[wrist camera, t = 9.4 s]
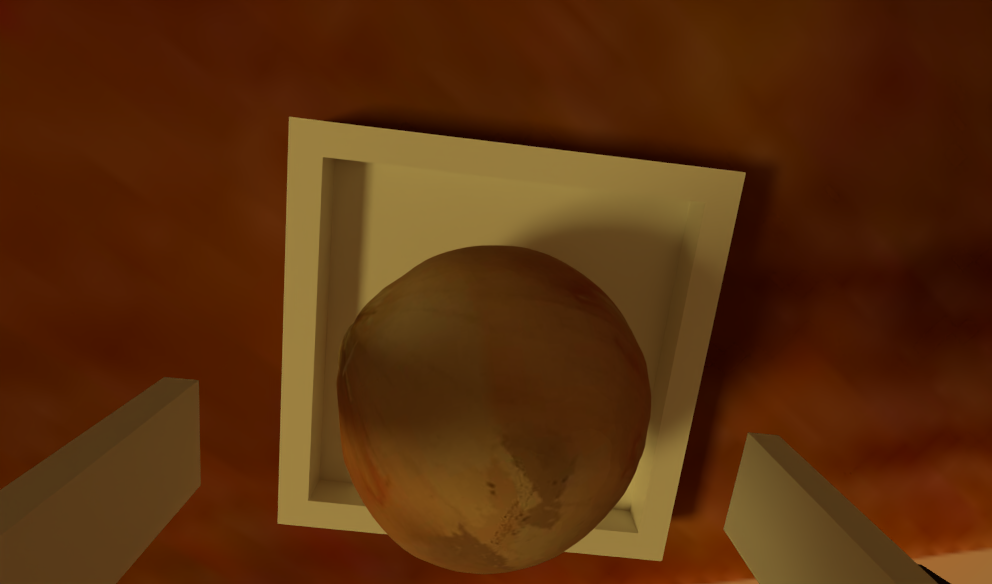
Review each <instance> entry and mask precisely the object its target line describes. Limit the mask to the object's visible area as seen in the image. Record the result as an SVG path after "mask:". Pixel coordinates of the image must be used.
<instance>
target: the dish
mask: <svg viewBox="0 0 992 584" xmlns="http://www.w3.org/2000/svg"><path fill="white" fill-rule="evenodd" d="M745 175H746V172H738V171H730V170H722V169H714V168H705V167H697V166H689V165H681V164H673V163H664V162H656V161H648V160H640V159H631V158H623V157H615V156H607V155H598V154H590V153H582V152H574V151H566V150H557V149H549V148H541V147H533V146H524V145H516V144H508V143H500V142H491V141H483V140H475V139H467V138H459V137H450V136H442V135H434V134H426V133H417V132H409V131H401V130H393V129H385V128H376V127H368V126H360V125H352V124H343V123H335V122H327V121H319V120H310V119H302V118H294V117H289V139H288V174H287V210H286V245H285V281H284V316H283V352H282V387H281V423H280V458H279V494H278V524H287V525H298V526H308V527H318V528H328V529H338V530H349V531H359V532H369V533H379V534H387V533H386V532H385V531H384V530H383V529H382V528H381V527H380V525H379V524H378V523H377V522H376V520H375V519H374V518H373V517H372V515H371V514H370V512H369V511H368V509H367V508H366V506H365V505H364V503H363V501H362V499H361V498H360V496H359V494H358V492H357V490H356V488H355V486H354V485H353V483H352V480H351V477H350V475H349V472H348V470H347V467H346V465H345V462H344V458H343V453H342V446H341V438H340V426H339V411H338V399H337V387H336V382H337V375H338V370H339V366H338V355H339V348H340V345H341V342H342V339H343V337H344V335H345V333H346V331H347V329H348V327H349V326H350V325H351V324H353V323H354V321H355V319H356V317H357V316H358V314H359V313H360V311H361V310H362V309H363V308H364V306H365V305H366V304H367V303H368V302H369V301H370V300H371V299H372V298H374V297H375V296H376V295H377V294H378V293H379V292H380V291H381V290H382V289H384V288H385V287H386V286H388V285H390V284H391V283H393V282H394V281H396V280H397V279H399V278H400V277H402V276H403V275H404V274H406V273H407V272H409V271H410V270H411V269H413V268H414V267H415V266H417V265H419V264H420V263H422V262H423V261H425V260H427V259H429V258H431V257H434V256H436V255H439V254H442V253H445V252H448V251H452V250H456V249H460V248H465V247H471V246H481V245H503V246H517V247H524V248H529V249H532V250H536V251H539V252H542V253H545V254H548V255H550V256H552V257H555V258H557V259H559V260H561V261H562V262H564V263H566V264H568V265H569V266H571V267H573V268H574V269H576V270H577V271H579V272H580V273H582V274H583V275H585V276H586V277H587V278H588V279H590V280H591V281H592V282H594V283H595V284H596V285H597V286H598V287H599V288H601V289H602V290H603V291H604V292H605V293H606V294H607V295H608V297H609V298H610V299H611V300H612V301H613V302H614V304H615V305H616V306H617V308H618V309H619V310H620V312H621V313H622V315H623V316H624V318H625V320H626V321H627V323H628V325H629V327H630V329H631V330H632V332H633V334H634V337H635V339H636V341H637V343H638V345H639V347H640V349H641V350H642V352H643V355H644V358H645V361H646V364H647V371H648V378H649V383H650V389H651V416H650V421H649V426H648V431H647V437H646V443H645V448H644V451H643V455H642V457H641V459H640V461H639V464H638V467H637V470H636V473H635V475H634V477H633V479H632V481H631V483H630V484H629V486H628V488H627V490H626V492H625V494H624V495H623V496H622V498H621V499H620V500H619V502H618V503H617V504H616V505H615V506H614V508H613V509H612V510H611V511H610V512H609V513H608V515H607V516H606V517H605V518H604V519H603V520H602V521H601V522H600V523H599V524H598V525H597V526H596V527H595V528H594V529H593V530H592V531H591V532H590V533H589V534H587V535H586V536H585V537H584V538H583V539H581V540H580V541H579V542H577V543H576V544H575V545H573V546H572V547H570V548H569V549H567V550H566V551H564V552H574V553H584V554H594V555H604V556H615V557H625V558H635V559H645V560H656V561H662V557H663V553H664V548H665V544H666V539H667V534H668V530H669V525H670V521H671V516H672V511H673V507H674V502H675V497H676V493H677V488H678V484H679V479H680V474H681V470H682V465H683V461H684V456H685V451H686V447H687V442H688V438H689V433H690V428H691V424H692V419H693V414H694V410H695V405H696V401H697V396H698V391H699V387H700V382H701V378H702V373H703V368H704V364H705V359H706V355H707V350H708V345H709V341H710V336H711V331H712V327H713V322H714V318H715V313H716V308H717V304H718V299H719V295H720V290H721V285H722V281H723V276H724V272H725V267H726V262H727V258H728V253H729V248H730V244H731V239H732V235H733V230H734V225H735V221H736V216H737V212H738V207H739V202H740V198H741V193H742V189H743V184H744V179H745Z"/></svg>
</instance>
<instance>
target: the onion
mask: <svg viewBox="0 0 992 584" xmlns="http://www.w3.org/2000/svg"><path fill="white" fill-rule="evenodd" d="M338 366H339V370H338V375H337V382H336V387H337V399H338V411H339V426H340V438H341V446H342V453H343V458H344V462H345V465H346V467H347V470H348V472H349V475H350V477H351V480H352V483H353V485H354V486H355V488H356V490H357V492H358V494H359V496H360V498H361V499H362V501H363V503H364V505H365V506H366V508H367V509H368V511H369V512H370V514H371V515H372V517H373V518H374V519H375V520H376V522H377V523H378V524H379V525H380V527H381V528H382V529H383V530H384V531H385V532H386V533H387V534H388V535H389V536H390V537H391V538H392V539H393V540H394V541H395V542H396V543H397V544H399V545H400V546H401V547H402V548H403V549H404V550H406V551H407V552H409V553H410V554H412V555H414V556H415V557H417V558H419V559H422V560H424V561H427V562H429V563H432V564H434V565H437V566H439V567H443V568H446V569H450V570H453V571H458V572H465V573H475V574H493V573H504V572H511V571H515V570H519V569H524V568H527V567H531V566H535V565H537V564H540V563H542V562H545V561H547V560H549V559H552V558H554V557H556V556H558V555H560V554H561V553H563V552H564V551H566V550H567V549H569V548H570V547H572V546H573V545H575V544H576V543H577V542H579V541H580V540H581V539H583V538H584V537H585V536H586V535H587V534H589V533H590V532H591V531H592V530H593V529H594V528H595V527H596V526H597V525H598V524H599V523H600V522H601V521H602V520H603V519H604V518H605V517H606V516H607V515H608V513H609V512H610V511H611V510H612V509H613V508H614V506H615V505H616V504H617V503H618V502H619V500H620V499H621V498H622V496H623V495H624V494H625V492H626V490H627V488H628V486H629V484H630V483H631V481H632V479H633V477H634V475H635V473H636V470H637V467H638V464H639V461H640V459H641V457H642V455H643V451H644V448H645V443H646V437H647V431H648V426H649V421H650V416H651V389H650V383H649V378H648V371H647V364H646V361H645V358H644V355H643V352H642V350H641V349H640V347H639V345H638V343H637V341H636V339H635V337H634V334H633V332H632V330H631V329H630V327H629V325H628V323H627V321H626V320H625V318H624V316H623V315H622V313H621V312H620V310H619V309H618V308H617V306H616V305H615V304H614V302H613V301H612V300H611V299H610V298H609V297H608V295H607V294H606V293H605V292H604V291H603V290H602V289H601V288H599V287H598V286H597V285H596V284H595V283H594V282H592V281H591V280H590V279H588V278H587V277H586V276H585V275H583V274H582V273H580V272H579V271H577V270H576V269H574V268H573V267H571V266H569V265H568V264H566V263H564V262H562V261H561V260H559V259H557V258H555V257H552V256H550V255H548V254H545V253H542V252H539V251H536V250H532V249H529V248H524V247H517V246H503V245H481V246H471V247H465V248H460V249H456V250H452V251H448V252H445V253H442V254H439V255H436V256H434V257H431V258H429V259H427V260H425V261H423V262H422V263H420V264H419V265H417V266H415V267H414V268H413V269H411V270H410V271H409V272H407V273H406V274H404V275H403V276H402V277H400V278H399V279H397V280H396V281H394V282H393V283H391V284H390V285H388V286H386V287H385V288H384V289H382V290H381V291H380V292H379V293H378V294H377V295H376V296H375V297H374V298H372V299H371V300H370V301H369V302H368V303H367V304H366V305H365V306H364V308H363V309H362V310H361V311H360V313H359V314H358V316H357V317H356V319H355V321H354V323H353V324H351V325H350V326H349V327H348V329H347V331H346V333H345V335H344V337H343V339H342V342H341V345H340V348H339V355H338Z"/></svg>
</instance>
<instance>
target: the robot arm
mask: <svg viewBox="0 0 992 584" xmlns="http://www.w3.org/2000/svg"><path fill="white" fill-rule="evenodd" d="M200 485H201V481H200V426H199V380H190V379H180V378H169V377H164V378H163V379H161V380H160V381H158V382H157V383H155V384H154V385H152V386H151V387H149V388H148V389H147V390H145V391H144V392H142V393H141V394H139V395H138V396H136V397H135V398H133V399H132V400H131V401H129V402H128V403H126V404H125V405H123V406H122V407H120V408H119V409H117V410H116V411H115V412H113V413H112V414H110V415H109V416H107V417H106V418H104V419H103V420H102V421H100V422H99V423H97V424H96V425H94V426H93V427H91V428H90V429H88V430H87V431H86V432H84V433H83V434H81V435H80V436H78V437H77V438H75V439H74V440H72V441H71V442H70V443H68V444H67V445H65V446H64V447H62V448H61V449H59V450H58V451H56V452H55V453H54V454H52V455H51V456H49V457H48V458H46V459H45V460H43V461H42V462H40V463H39V464H38V465H36V466H35V467H33V468H32V469H30V470H29V471H27V472H26V473H24V474H23V475H22V476H20V477H19V478H17V479H16V480H14V481H13V482H11V483H10V484H8V485H7V486H6V487H4V488H3V489H1V490H0V584H116V583H117V582H118V580H119V579H120V578H121V577H122V576H123V575H124V574H125V572H126V571H127V570H128V569H129V568H130V567H131V565H132V564H133V563H134V562H135V561H136V560H137V558H138V557H139V556H140V555H141V554H142V553H143V551H144V550H145V549H146V548H147V547H148V546H149V544H150V543H151V542H152V541H153V540H154V539H155V538H156V536H157V535H158V534H159V533H160V532H161V531H162V529H163V528H164V527H165V526H166V525H167V524H168V522H169V521H170V520H171V519H172V518H173V517H174V515H175V514H176V513H177V512H178V511H179V510H180V508H181V507H182V506H183V505H184V504H185V503H186V501H187V500H188V499H189V498H190V497H191V496H192V495H193V493H194V492H195V491H196V490H197V489H198V488H199V486H200ZM724 531H725V532H726V534H727V535H728V537H729V538H730V540H731V541H732V543H733V544H734V546H735V547H736V549H737V551H738V552H739V554H740V555H741V557H742V558H743V560H744V561H745V563H746V564H747V566H748V567H749V569H750V570H751V572H752V573H753V575H754V576H755V578H756V579H757V581H758V582H759V584H950V583H949V582H947V581H946V580H944V579H942V578H941V577H939V576H938V575H936V574H935V573H933V572H932V571H930V570H929V569H927V568H926V567H924V566H922V565H919V564H917V563H915V562H914V561H913V560H912V559H911V558H910V557H909V556H908V555H907V554H906V553H905V552H904V551H902V550H901V549H900V548H899V547H898V546H897V545H896V544H895V543H894V542H893V541H892V540H891V539H890V538H888V537H887V536H886V535H885V534H884V533H883V532H882V531H881V530H880V529H879V528H878V527H877V526H876V525H874V524H873V523H872V522H871V521H870V520H869V519H868V518H867V517H866V516H865V515H864V514H863V513H862V512H860V511H859V510H858V509H857V508H856V507H855V506H854V505H853V504H852V503H851V502H850V501H849V500H848V499H846V498H845V497H844V496H843V495H842V494H841V493H840V492H839V491H838V490H837V489H836V488H835V487H834V486H832V485H831V484H830V483H829V482H828V481H827V480H826V479H825V478H824V477H823V476H822V475H821V474H820V473H818V472H817V471H816V470H815V469H814V468H813V467H812V466H811V465H810V464H809V463H808V462H807V461H805V460H804V459H803V458H802V457H801V456H800V455H799V454H798V453H797V452H796V451H795V450H794V449H793V448H791V447H790V446H789V445H788V444H787V443H786V442H785V441H784V440H783V439H782V438H781V437H780V436H779V435H769V434H759V433H748V435H747V439H746V443H745V447H744V451H743V455H742V459H741V463H740V467H739V471H738V475H737V479H736V482H735V486H734V490H733V494H732V498H731V502H730V506H729V510H728V514H727V518H726V522H725V526H724Z"/></svg>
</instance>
